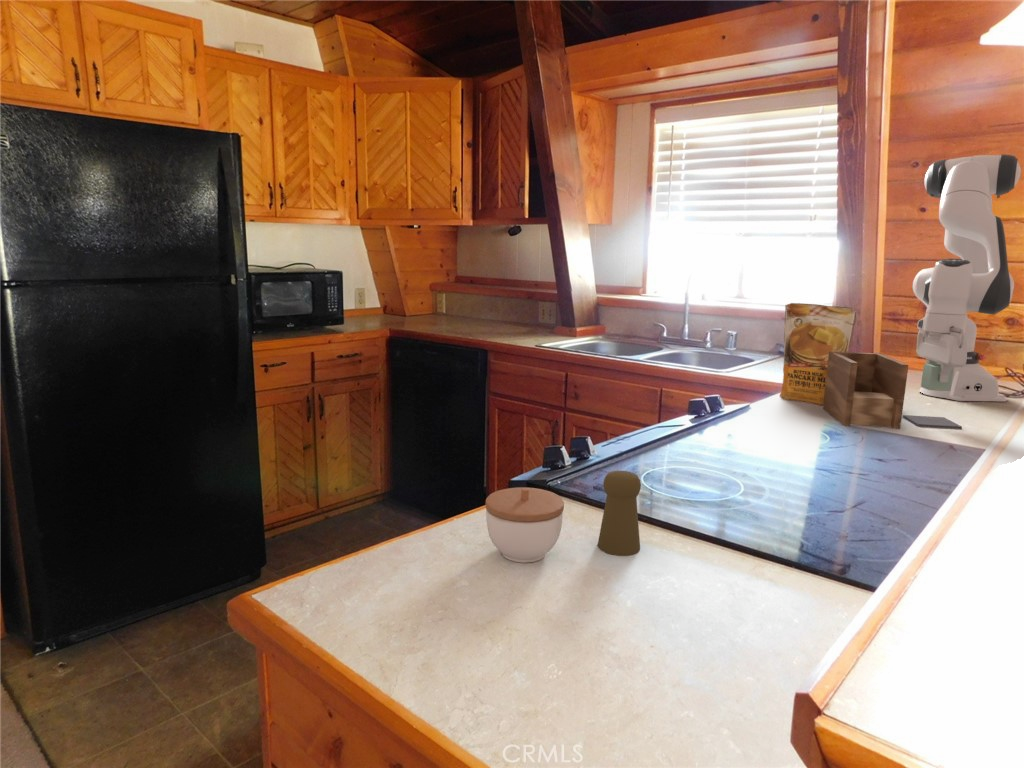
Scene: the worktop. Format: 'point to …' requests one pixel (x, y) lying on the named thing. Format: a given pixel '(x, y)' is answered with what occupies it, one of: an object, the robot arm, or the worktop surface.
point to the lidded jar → (524, 522)
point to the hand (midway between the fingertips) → (936, 379)
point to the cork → (620, 514)
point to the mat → (931, 422)
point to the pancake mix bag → (812, 347)
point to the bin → (865, 389)
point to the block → (935, 378)
